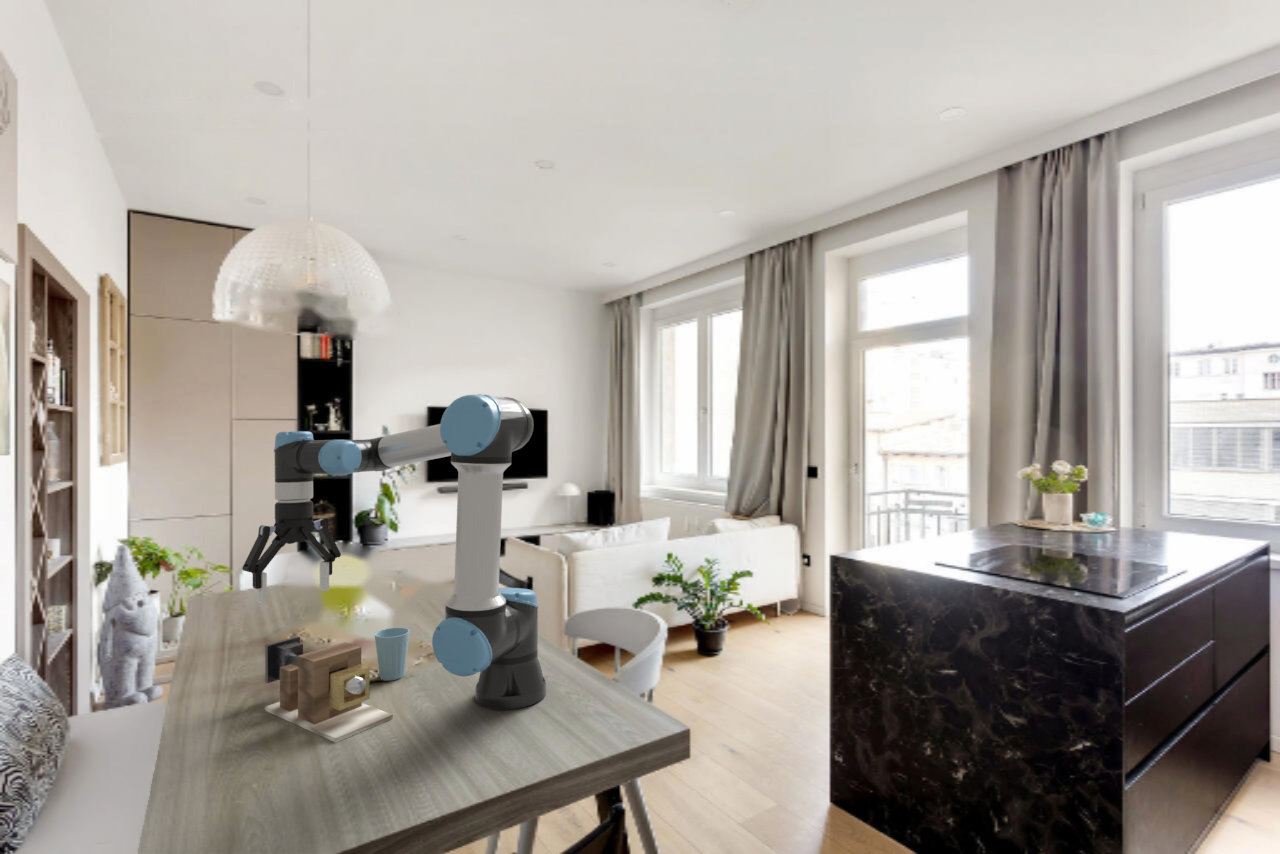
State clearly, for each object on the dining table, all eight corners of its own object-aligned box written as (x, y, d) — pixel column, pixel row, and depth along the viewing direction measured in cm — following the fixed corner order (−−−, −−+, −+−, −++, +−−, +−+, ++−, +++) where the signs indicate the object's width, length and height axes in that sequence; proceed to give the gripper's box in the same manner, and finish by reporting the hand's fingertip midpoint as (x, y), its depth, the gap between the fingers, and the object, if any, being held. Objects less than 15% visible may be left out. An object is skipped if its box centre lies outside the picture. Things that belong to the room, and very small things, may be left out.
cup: (411, 679, 149) (410, 634, 150) (375, 684, 146) (375, 639, 147) (408, 668, 156) (408, 625, 157) (374, 673, 153) (374, 630, 153)
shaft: (375, 700, 128) (375, 660, 128) (342, 713, 122) (342, 671, 122) (297, 671, 144) (297, 636, 144) (265, 682, 138) (265, 644, 138)
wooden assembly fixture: (392, 718, 129) (392, 653, 129) (335, 742, 119) (335, 672, 119) (321, 690, 143) (320, 632, 143) (265, 710, 133) (264, 647, 133)
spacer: (369, 699, 128) (369, 667, 128) (339, 710, 123) (339, 677, 123) (360, 695, 130) (360, 664, 130) (330, 707, 125) (330, 674, 125)
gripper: (339, 495, 155) (339, 583, 154) (224, 504, 134) (224, 606, 134) (356, 496, 150) (356, 587, 150) (240, 507, 130) (240, 612, 130)
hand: (294, 596), depth 142 cm, fingers open, 13 cm apart
